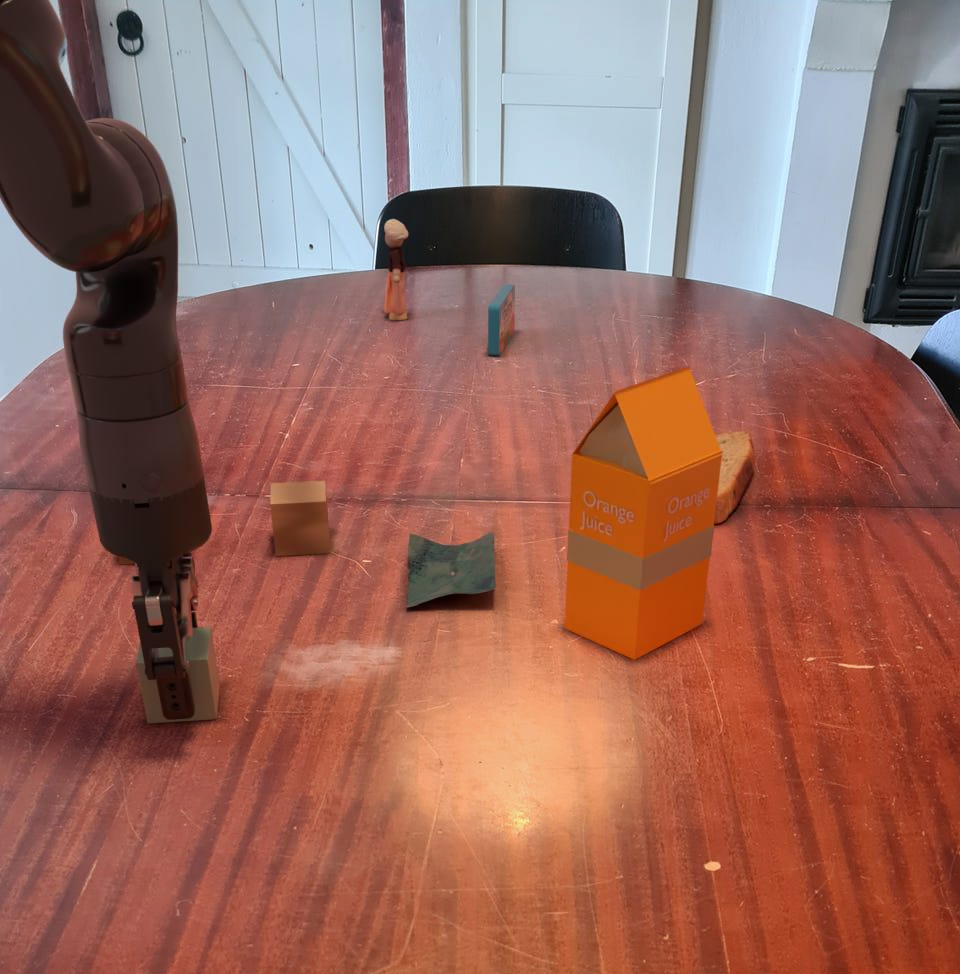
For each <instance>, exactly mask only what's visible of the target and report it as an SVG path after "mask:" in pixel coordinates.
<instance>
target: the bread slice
mask: <svg viewBox="0 0 960 974" xmlns="http://www.w3.org/2000/svg"><path fill="white" fill-rule="evenodd" d="M715 436H716V438H717V441H718V443H719V446H720V449H721V450H723V452H722V454H723V455H722V460H721V468H720V477H719V485H718V494H717V502H716V510H715V519H714V525H717V524H720V523H723V522H724V521H726V520H727V519H728V517H729V515H731V514H732V512H733V511H734V510H735V509H736V508H737V507H738V504H739V502H740V501H741V499H742V495H743V493H744V492H745V489H746V487H747V485H748V483H749V481H750V479H751V477H752V474H753V471H754V468H755V465H756V460H757V457H756V452H755V446H754V443H753V439H752V436H751V434H750V432H749V430H747V429H744V430H734V431H732V432H723V433H720V434H715Z"/></svg>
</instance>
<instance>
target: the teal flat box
mask: <svg viewBox="0 0 960 974" xmlns="http://www.w3.org/2000/svg"><path fill="white" fill-rule="evenodd" d="M515 301H516V286H515V284H508V283H503V284H502V286H501V287H500V289H499V290H498V291H497V293H496V294H495V296H494V297H493V299H492V300H491V302H490V303H489V304H488V309H487V328H488V329H487V347H488V348H487V350H488V351H487V355H488V356H497V357H500V356H501V355H502V353H503V352H504V350H505V348H506V346H507V345H508V343H509V341H510V340H511V338H512V336H513V334H514V333H515V318H516V317H515V316H516V315H515V313H516V311H515V309H516V306H515V304H516V302H515Z"/></svg>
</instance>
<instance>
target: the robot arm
mask: <svg viewBox="0 0 960 974" xmlns="http://www.w3.org/2000/svg"><path fill="white" fill-rule="evenodd" d="M67 51H68V40H67V35H66V32H65V29H64V26H63V24H62V22H61V20H60V18H59V16H58V14H57V11H55V8H54V6H53V4H52V3H51V0H0V201H1V203H2V205H3V206H4V208H5V210H6V212H7V213H8V216H9V217H10V218H11V220H12V221H13V223H14V224H15V226H16V227H17V228H18V230H19V231H20V232H21V234H22V235H23V236H24V238H26V240H27V241H28V242H29V243H30V244H31V246H33V247H34V248H35V249H36V250H37V251H38V252H39V253H40V254H41V255H42V256H44V258H46V259H47V260H49V261H50V262H51V263H53V264H54V265H56V266H58V267H60V268H62V269H65V270H67V271H70V272H74V273H75V282H76V293H75V299H74V302H73V304H72V307H71V308H70V310H69V312H68V313H67V316H66V317H65V320H64V322H63V327H62V341H63V349H64V356H65V361H66V365H67V366H66V367H67V372H68V376H69V381H70V386H71V390H72V395H73V400H74V404H75V408H76V415H77V421H78V424H77V425H78V439H79V447H80V453H81V457H82V462H83V467H84V471H85V476H86V477H85V478H86V481H87V487H88V490H89V496H90V500H91V504H92V509H93V510H92V511H93V514H94V520H95V523H96V528H97V533H98V538H99V542H100V544H101V546H102V548H103V549H105V551H107V552H108V553H109V554H111V555H113V556H116V557H118V558H119V557H121V558H123V557H124V558H127V559H129V560H132V561H134V562H135V564H134V566H135V572H136V573H135V574H134V575H133V574H132V575H131V586H132V587H131V590H132V595H133V597H132V601H131V607H132V610H134V615H135V620H136V626H137V632H138V636H139V643H140V642H141V648H142V653H143V658H144V664H145V675H147V679H148V680H156V682H157V687H158V692H159V697H160V702H161V707H162V712H163V716H164V717H165V718H166V719H168V720H176V719H189V718H192V717H193V716H194V712H195V705H194V699H193V694H192V688H191V682H190V677H189V671H188V668H190V663H189V660H188V657H187V645H186V643H187V641H188V640H189V639H191V637H192V635H193V629H192V628H199V626H198V624H199V623H198V618H197V613H196V612H197V611H198V610H197V609H198V606H199V601H198V597H199V591H198V588H199V581H198V579H197V577H196V563H195V559H194V557H193V555H192V552H193V551H196V550H198V549H199V548H201V547H202V546H203V545H205V544H206V543H207V542H208V540H209V539H210V538H211V535H212V531H213V527H212V520H211V512H210V507H209V506H210V505H209V499H208V492H207V487H206V480H205V474H204V468H203V461H202V455H201V446H200V441H199V436H198V430H197V426H196V423H195V420H194V416H193V413H192V410H191V405H190V400H189V395H188V389H187V382H186V381H187V380H186V376H185V369H184V368H185V367H184V362H183V356H182V350H181V349H182V348H181V344H180V340H179V336H178V327H177V308H178V307H177V306H178V294H179V225H178V224H179V223H178V213H177V212H178V211H177V205H176V203H177V202H176V198H175V193H174V189H173V185H172V181H171V178H170V175H169V173H168V169H167V167H166V164H165V162H164V160H163V158H162V157H161V154H160V153H159V151H158V149H157V148H156V147H155V145H154V144H153V142H152V141H151V140H150V139H149V138H148V137H147V136H146V135H145V134H144V133H143V132H141V130H139V129H138V128H136V127H135V126H133V125H132V124H130V123H128V122H126V121H123V120H120V119H116V118H107V117H100V118H92V119H88V120H86V119H85V117H84V115H83V113H82V111H81V110H80V107H79V105H78V104H77V101H76V99H75V97H74V95H73V93H72V90H71V88H70V86H69V83H68V82H67V79H66V78H65V75H64V73H63V71H62V68H61V66H62V65H63V62H64V60H65V58H66V55H67ZM158 648H170V649H171V650H172V652H173V656H171V657H159V653H158Z"/></svg>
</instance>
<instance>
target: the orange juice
mask: <svg viewBox="0 0 960 974" xmlns="http://www.w3.org/2000/svg"><path fill="white" fill-rule="evenodd" d="M690 367H691V365H687V366H685V367H682V368H679V369H676V370H673V371H670V372H667V373H665V374H662V375H658V376H656V377H652V378H650V379H647V380H644V381H642V382H638V383H635V384H633V385H629V386H627V387H624V388H621V389H618V390H615V391H614V392H613V394H612V395H611V397H610V398H609V400H608V401H607V403H606V404H605V406H604V407H603V409H602V410H601V412H600V413H599V415H597V417H596V418H595V420H594V422H593V423H592V425H591V426H590V427H589V429H588V431H586V433H585V435H584V436H583V438H582V439H581V441H580V442H579V444H578V445H577V446H576V448H575V449H574V451H573V452H572V454H571V475H570V496H569V517H568V519H569V520H568V522H569V523H568V529H567V546H566V561H567V564H566V586H565V587H566V589H565V608H564V609H565V612H564V629H566V630H568V631H569V632H571V633H574V634H576V635H578V636H580V637H583V638H585V639H587V640H590V641H592V642H594V643H596V644H598V645H601V646H603V647H604V648H607V649H609V650H612V651H614V652H616V653H617V654H621V655H622V656H625V657H627V658H629V659H631V660H634V661H636V660H637V659H639V658H641V657H643V656H644V655H647V654H648V653H650V652H652V651H654V650H656V649H658V648H659V647H661V646H664V645H665V644H667V643H669V642H671V641H673V640H674V639H677V638H678V637H680V636H682V635H684V634H686V633H688V632H690V631H692V630H693V629H696V628H697V627H699V626H701V625H702V624H703V618H704V612H705V611H704V609H705V601H706V594H707V586H708V576H709V568H710V562H711V561H710V560H711V557H712V548H713V541H714V532H715V524H714V519H715V510H716V502H717V494H718V485H719V477H720V468H721V460H722V455H723V454H722V452H723V450H721V449H720V446H719V443H718V441H717V438H716V436H715V435H716V433H715V431H714V428H713V426H712V422H711V419H710V418H709V414H708V412H707V409H706V407H705V404H704V401H703V398H702V396H701V394H700V392H699V389H698V385H697V384H696V381H695V378H694V375H693V373H692V370H691V368H690Z"/></svg>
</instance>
